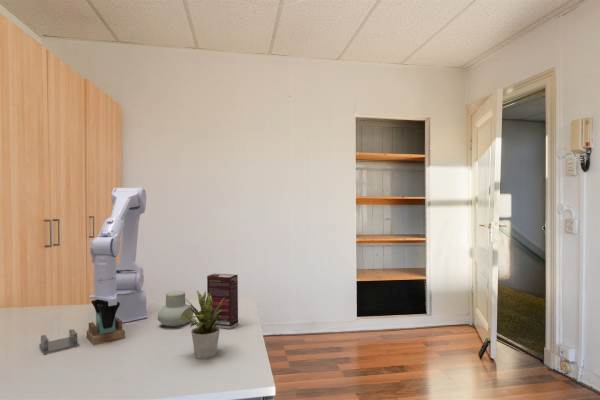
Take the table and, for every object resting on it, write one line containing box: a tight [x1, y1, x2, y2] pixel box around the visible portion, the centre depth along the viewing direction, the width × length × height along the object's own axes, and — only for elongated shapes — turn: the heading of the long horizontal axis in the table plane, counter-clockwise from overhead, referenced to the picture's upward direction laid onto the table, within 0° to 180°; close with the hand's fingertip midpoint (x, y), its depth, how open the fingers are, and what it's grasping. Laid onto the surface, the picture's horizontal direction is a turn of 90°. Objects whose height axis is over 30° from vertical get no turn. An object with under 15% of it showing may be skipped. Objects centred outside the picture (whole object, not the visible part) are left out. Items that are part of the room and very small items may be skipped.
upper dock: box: [86, 317, 126, 346], centre depth 107 cm, size 8×8×4 cm
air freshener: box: [157, 290, 194, 327], centre depth 119 cm, size 11×8×10 cm
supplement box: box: [206, 272, 239, 330], centre depth 117 cm, size 9×5×16 cm, turn 71°
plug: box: [95, 312, 115, 334], centre depth 107 cm, size 4×4×6 cm
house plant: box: [176, 290, 228, 360], centre depth 95 cm, size 14×14×16 cm
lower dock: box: [38, 328, 80, 355], centre depth 101 cm, size 8×8×3 cm
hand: (105, 325), depth 107 cm, fingers closed on plug, 4 cm apart
